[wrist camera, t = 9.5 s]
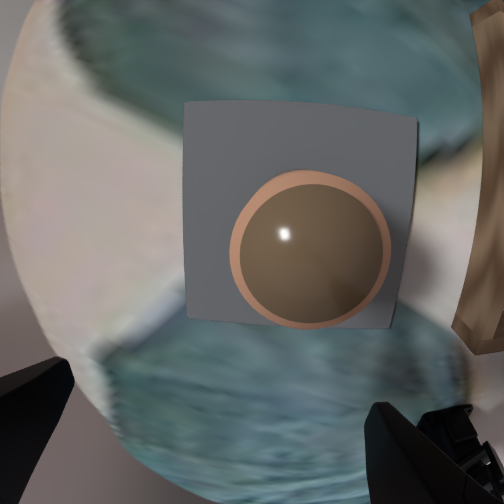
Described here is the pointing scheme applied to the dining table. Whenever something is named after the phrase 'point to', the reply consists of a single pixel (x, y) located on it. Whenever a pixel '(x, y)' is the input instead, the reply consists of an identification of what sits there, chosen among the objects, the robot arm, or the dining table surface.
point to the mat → (273, 162)
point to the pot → (309, 249)
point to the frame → (487, 197)
